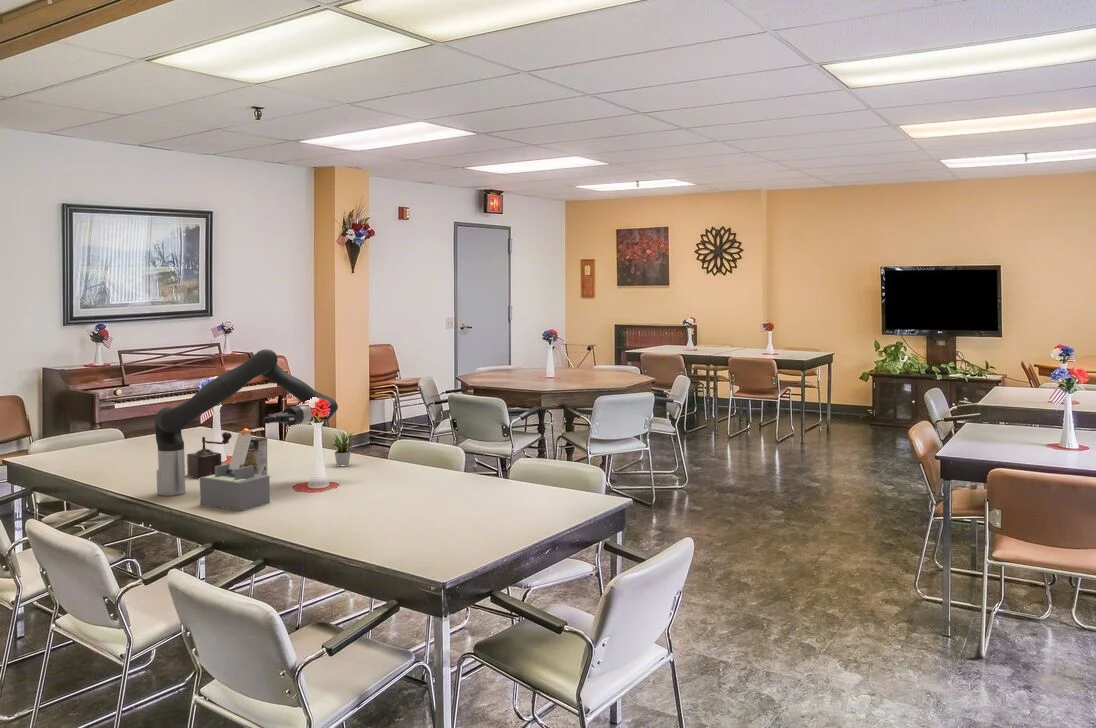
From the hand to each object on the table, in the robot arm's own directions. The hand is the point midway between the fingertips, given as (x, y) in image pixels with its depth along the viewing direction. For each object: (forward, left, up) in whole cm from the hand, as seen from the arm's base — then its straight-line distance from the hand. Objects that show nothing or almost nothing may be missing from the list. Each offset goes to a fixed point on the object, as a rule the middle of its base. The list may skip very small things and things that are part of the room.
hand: (264, 420), depth 309 cm
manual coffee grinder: (-31, +41, -29) cm, 59 cm away
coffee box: (-12, +37, -29) cm, 48 cm away
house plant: (+24, +55, -29) cm, 66 cm away
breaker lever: (-9, -13, -18) cm, 24 cm away
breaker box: (-8, -12, -29) cm, 32 cm away
